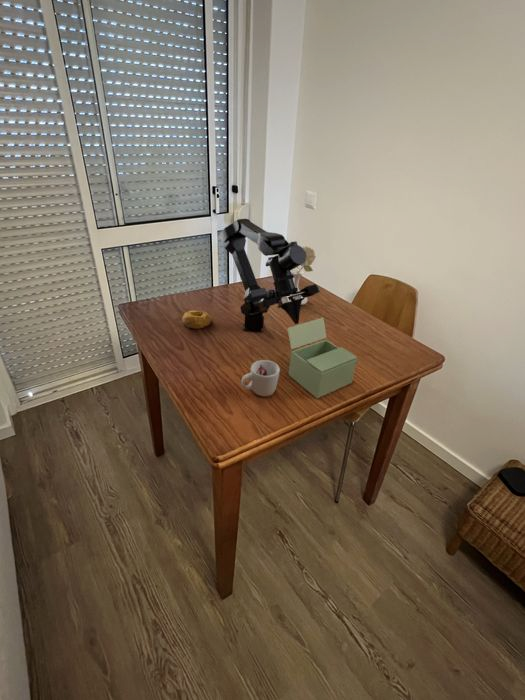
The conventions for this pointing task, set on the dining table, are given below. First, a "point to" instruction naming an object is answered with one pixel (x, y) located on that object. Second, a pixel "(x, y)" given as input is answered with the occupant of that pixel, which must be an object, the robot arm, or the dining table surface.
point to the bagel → (196, 319)
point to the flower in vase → (297, 273)
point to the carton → (322, 367)
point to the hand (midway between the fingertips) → (296, 323)
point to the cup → (262, 377)
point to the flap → (306, 333)
